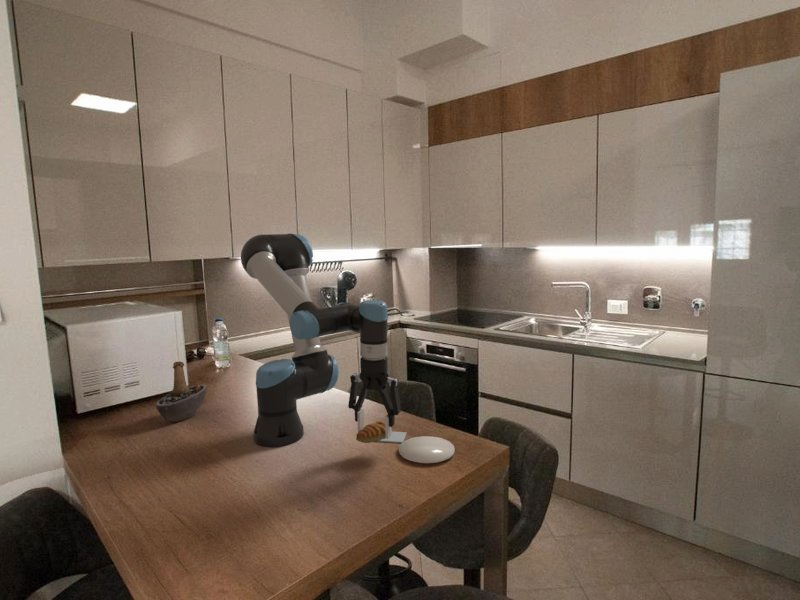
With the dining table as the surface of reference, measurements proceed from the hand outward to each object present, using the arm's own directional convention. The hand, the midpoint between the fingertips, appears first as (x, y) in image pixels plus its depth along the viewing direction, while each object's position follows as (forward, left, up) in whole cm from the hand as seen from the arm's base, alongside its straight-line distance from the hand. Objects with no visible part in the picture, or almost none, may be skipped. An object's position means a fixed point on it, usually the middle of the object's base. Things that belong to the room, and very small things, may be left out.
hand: (374, 434), depth 135 cm
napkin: (0, +12, -6) cm, 13 cm away
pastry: (0, 0, -1) cm, 1 cm away
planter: (-74, +5, -6) cm, 75 cm away
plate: (+14, +6, -6) cm, 16 cm away
